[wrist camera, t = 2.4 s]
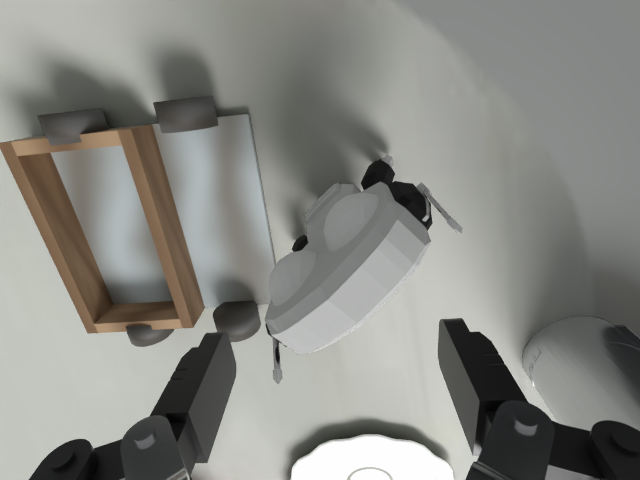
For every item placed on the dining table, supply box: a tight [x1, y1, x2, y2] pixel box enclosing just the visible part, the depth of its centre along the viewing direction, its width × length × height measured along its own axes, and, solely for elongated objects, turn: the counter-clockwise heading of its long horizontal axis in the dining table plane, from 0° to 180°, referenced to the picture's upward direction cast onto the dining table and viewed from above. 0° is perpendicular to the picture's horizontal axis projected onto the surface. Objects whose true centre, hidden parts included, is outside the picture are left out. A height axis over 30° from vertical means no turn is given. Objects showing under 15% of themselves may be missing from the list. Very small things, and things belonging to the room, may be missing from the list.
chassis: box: [0, 96, 276, 347], centre depth 29 cm, size 18×20×4 cm
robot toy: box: [265, 155, 462, 384], centre depth 22 cm, size 12×4×15 cm, turn 138°
